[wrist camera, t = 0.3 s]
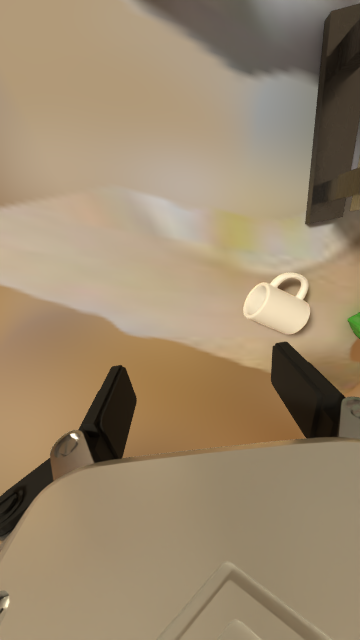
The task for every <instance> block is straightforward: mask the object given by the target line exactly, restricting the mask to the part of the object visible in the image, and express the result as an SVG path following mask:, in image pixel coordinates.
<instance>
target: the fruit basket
mask: <svg viewBox="0 0 360 640" xmlns="http://www.w3.org/2000/svg"><path fill="white" fill-rule="evenodd" d="M348 322H350V326H351V328H352V330H354V333H355V334H356V336H357V337H358V338H359V339H360V312H359V313H358V314H356V315H354V316H352V317H350V318H349V319H348Z"/></svg>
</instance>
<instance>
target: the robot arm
mask: <svg viewBox="0 0 360 640" xmlns="http://www.w3.org/2000/svg"><path fill="white" fill-rule="evenodd" d="M271 382H272V385H273V386H274V388H275V390H276V391H277V393H278V394H279V396H280V398H281V399H282V401H283V402H284V404H285V406H286V407H287V409H288V410H289V412H290V414H291V415H292V417H293V418H294V420H295V421H296V423H297V424H298V426H299V428H300V429H301V431H302V433H303V434H304V436H305V437H306V438H307V439H295V440H284V441H274V442H264V443H255V444H245V445H235V446H226V447H217V448H207V449H198V450H189V451H180V452H172V453H163V454H154V455H145V456H137V457H129V458H122V456H123V453H124V449H125V445H126V441H127V437H128V433H129V429H130V425H131V421H132V417H133V414H134V410H135V406H136V395H135V393H134V390H133V387H132V384H131V382H130V379H129V376H128V374H127V371H126V368H124V367H122V365H119V366H113V367H111V369H110V371H109V373H108V375H107V377H106V379H105V381H104V383H103V385H102V387H101V389H100V390H99V391H98V393H97V395H96V397H95V399H94V401H93V403H92V405H91V407H90V408H89V410H88V412H87V415H86V416H85V418H84V420H83V422H82V424H81V426H80V428H79V430H73V431H70V432H68V433H66V434H64V435H63V436H62V437H61V438H60V439H58V441H57V442H56V443H55V444H54V446H53V447H52V449H51V452H50V458H49V459H48V460H46V461H45V462H44V463H42V464H41V465H40V466H39V467H37V468H36V469H35V470H33V471H32V472H31V473H30V474H28V475H27V476H26V477H24V478H23V479H22V480H21V481H19V482H18V483H16V484H15V485H14V486H12V487H11V488H10V489H9V490H7V491H6V492H5V493H4V494H3V495H2V496H0V640H360V398H359V397H347V398H346V397H344V395H343V394H342V393H340V392H339V391H338V390H337V389H336V388H335V387H334V386H333V385H332V384H331V383H330V382H329V381H328V380H327V379H326V378H325V377H324V376H323V375H322V374H321V373H320V372H319V371H318V370H317V369H316V368H315V367H314V366H313V365H312V364H310V363H309V362H307V361H306V360H305V359H304V358H303V357H302V356H301V355H300V354H299V353H298V352H297V351H296V350H295V349H294V348H293V347H292V346H291V345H290V344H289V343H288V342H280V343H276V344H275V346H273V351H272V369H271Z"/></svg>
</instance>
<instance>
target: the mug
mask: <svg viewBox="0 0 360 640" xmlns="http://www.w3.org/2000/svg"><path fill="white" fill-rule="evenodd" d="M288 278H295V279H298V280H299V281H300V282H301V287H300V290H299V292H298V293H297V295H296V296H293V295H291V294H289V293H287V292H285V291H283V290H281V289H278V288H277V287H278V286H279V285H280V284H281V283H282V282H283V281H284V280H286V279H288ZM307 291H308V281H307V279H306V278H305V277H304V276H302V275H300V274H297V273H284V274H281V275H279V276H277V277H276V278H275V279H274V280H273V281H272V282H271V283H270V284H268V283H265V282H263V283H260V284H258V285H256V286H255V287H254V288H253V289H252V290H251V292H250V293H249V295H248V296H247V298H246V300H245V303H244V307H243V313H244V316H245V317H246V318H248V319H251V320H253V321H255V322H258V323H260V324H262V325H265V326H267V327H269V328H272V329H274V330H276V331H279V332H281V333H283V334H294V333H296V332H298V331H299V330H301V329H302V328H303V327H304V326H305V324H306V323H307V321H308V319H309V316H310V307H309V305H308V303H307V302H306V301H304V300H303V299H304V297H305V295H306V293H307Z"/></svg>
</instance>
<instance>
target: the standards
mask: <svg viewBox="0 0 360 640" xmlns="http://www.w3.org/2000/svg"><path fill="white" fill-rule="evenodd" d="M316 108H317V109H316V118H315V128H314V139H313V149H312V159H311V170H310V181H309V192H308V201H307V211H306V222H305V224H308V223H314V222H319V221H324V220H329V219H334V218H340V217H343V212H344V207H345V201H346V198H347V197H351V196H353V195H357V194H360V167H359V168H357V169H354V170H351V165H352V159H353V154H354V148H355V142H356V136H357V130H358V124H359V118H360V4H356V5H353V6H349V7H345V8H342V9H338V10H334V11H331V13H330V14H329V16H328V17H327V19H326V20H325V24H324V34H323V45H322V55H321V66H320V76H319V86H318V97H317V107H316Z"/></svg>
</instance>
